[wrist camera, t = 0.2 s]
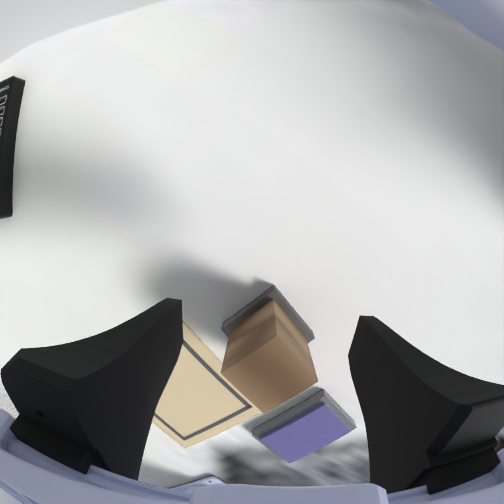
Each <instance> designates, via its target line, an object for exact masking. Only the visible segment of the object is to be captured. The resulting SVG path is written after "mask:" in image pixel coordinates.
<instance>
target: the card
mask: <svg viewBox="0 0 504 504" xmlns="http://www.w3.org/2000/svg"><path fill="white" fill-rule="evenodd" d="M222 364H223V363H222V362H221V361H220V360H219V359H218V358H217V357H216V356H215V355H214V354H213V353H212V352H211V351H210V350H209V349H208V348H207V346H206V345H205V344H204V343H203V342H202V341H201V340H200V339H199V338H198V337H197V336H196V335H195V334H194V333H193V332H192V330H191V329H190V328H189V327H188V326H187V325H186V324H185V323H184V322H183V344H182V348H181V351H180V355H179V358H178V361H177V363H176V365H175V367H174V370H173V372H172V374H171V376H170V378H169V380H168V382H167V385H166V387H165V389H164V391H163V393H162V395H161V398H160V400H159V402H158V405H157V407H156V410H155V413H154V416H153V420H152V422H153V423H154V424H155V425H156V426H157V427H159V428H160V429H161V430H162V431H163V432H165V433H166V434H167V435H168V436H169V437H171V438H172V439H173V440H175V441H176V442H177V443H178V444H180V445H181V446H182V447H184V448H187V447H189V446H192V445H194V444H196V443H199V442H201V441H203V440H205V439H208V438H210V437H212V436H214V435H216V434H219V433H221V432H223V431H225V430H227V429H229V428H231V427H233V426H235V425H237V424H239V423H241V422H243V421H245V420H247V419H249V418H251V417H253V416H255V415H257V414H258V413H260V412H261V411H260V410H259V409H258V408H257V407H256V406H255V405H254V404H253V403H251V402H250V401H249V400H248V399H247V398H246V397H245V396H244V395H243V394H242V393H241V392H240V391H238V390H237V389H236V388H235V387H234V386H233V385H232V384H231V383H230V382H229V381H228V380H227V379H226V378H225V377H224V376H223V375H222V374H221V369H222Z"/></svg>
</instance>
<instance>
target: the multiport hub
mask: <svg viewBox="0 0 504 504" xmlns="http://www.w3.org/2000/svg"><path fill="white" fill-rule="evenodd" d="M24 86H25V80H23V79H20V78H17V77H15V76H12V77H10V78H8V79H6V80H4V81H2V82H0V219H1V218H7V217H11V216H12V213H13V209H12V189H13V164H14V151H15V141H16V132H17V125H18V118H19V112H20V106H21V100H22V95H23V90H24Z"/></svg>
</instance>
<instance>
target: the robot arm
mask: <svg viewBox="0 0 504 504" xmlns="http://www.w3.org/2000/svg"><path fill="white" fill-rule="evenodd" d="M182 344H183V322H182V300H178V299H171V298H166V299H164V300H162V301H161V302H159V303H157V304H156V305H154V306H152V307H151V308H149V309H147V310H146V311H144V312H142V313H141V314H139V315H137V316H135V317H134V318H132V319H130V320H128V321H126V322H124V323H122V324H120V325H118V326H116V327H114V328H112V329H110V330H107V331H105V332H102V333H100V334H97V335H95V336H92V337H88V338H85V339H81V340H78V341H75V342H71V343H66V344H61V345H55V346H49V347H39V348H23V349H20V350H19V351H18V352H17V353H16V354H15V355H14V356H13V357H12V358H11V359H10V360H9V361H8V362H7V363H6V365H5V366H4V367H3V368H2V369H1V379H2V383H3V385H4V387H5V390H6V391H7V393H8V395H9V397H10V399H11V400H12V402H13V404H14V406H15V407H16V409H17V411H18V412H19V416H18V417H17V418H16V420H15V419H14V418H13V417H12V416H11V415H10V414H9V413H8V412H6V411H5V410H3V409H1V408H0V487H1V488H2V489H3V490H4V491H6V492H7V493H9V494H10V495H11V496H13V497H14V498H15V499H17V500H18V501H20V502H21V503H23V504H504V448H503V449H502V450H500V451H499V452H498V453H496V451H495V449H494V447H496V446H497V444H498V442H497V440H496V438H495V436H496V435H497V434H498V432H499V431H500V430H501V429H502V428H503V426H504V385H501V384H496V383H491V382H487V381H483V380H480V379H477V378H474V377H471V376H468V375H466V374H463V373H460V372H458V371H456V370H454V369H451V368H449V367H447V366H445V365H443V364H441V363H440V362H438V361H436V360H434V359H433V358H431V357H429V356H428V355H426V354H424V353H423V352H421V351H420V350H419V349H417V348H416V347H414V346H413V345H411V344H410V343H409V342H407V341H406V340H405V339H403V338H402V337H401V336H399V335H398V334H397V333H396V332H394V331H393V330H392V329H390V328H389V327H388V326H387V325H385V324H384V323H383V322H381V321H380V320H379V319H377V318H375V317H374V316H360V317H359V320H358V324H357V327H356V331H355V334H354V337H353V341H352V344H351V347H350V351H349V354H348V358H349V365H350V371H351V376H352V380H353V383H354V387H355V390H356V393H357V396H358V400H359V403H360V406H361V410H362V413H363V417H364V421H365V426H366V433H367V440H368V450H369V461H370V483H367V484H344V485H331V486H310V487H280V486H258V485H245V484H226V483H224V482H223V481H221V480H220V479H218V478H216V477H214V476H211V477H208V478H204V479H201V480H198V481H195V482H192V483H188V484H185V485H181V486H178V487H174V488H170V489H166V488H162V487H158V486H154V485H150V484H147V483H143V482H140V481H138V476H139V471H140V466H141V461H142V457H143V453H144V449H145V444H146V441H147V437H148V433H149V430H150V426H151V423H152V420H153V416H154V413H155V410H156V407H157V405H158V402H159V400H160V398H161V395H162V393H163V391H164V389H165V387H166V385H167V382H168V380H169V378H170V376H171V374H172V372H173V370H174V367H175V365H176V363H177V361H178V358H179V355H180V351H181V348H182Z"/></svg>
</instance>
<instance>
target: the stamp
mask: <svg viewBox="0 0 504 504" xmlns="http://www.w3.org/2000/svg"><path fill="white" fill-rule="evenodd" d="M221 329H222V331H223V332H224V333H225V334H226V335H227V336H228V337H229V339H228V343H227V347H226V352H225V356H224V360H223V364H222V369H221V374H222V375H223V376H224V377H225V378H226V379H227V380H228V381H229V382H230V383H231V384H232V385H233V386H234V387H235V388H236V389H237V390H238V391H240V392H241V393H242V394H243V395H244V396H245V397H246V398H247V399H248V400H249V401H250V402H251V403H253V404H254V405H255V406H256V407H257V408H258V409H259V410H260V411H261V412H263V413H266V412H267V411H269V410H271V409H273V408H275V407H276V406H278V405H280V404H282V403H283V402H285V401H287V400H289V399H290V398H292V397H294V396H295V395H297V394H299V393H300V392H302V391H304V390H305V389H307V388H309V387H310V386H312V385H313V384H315V383H316V382H318V379H317V375H316V372H315V368H314V365H313V361H312V357H311V354H310V350H309V347H308V343H309V342H310V341H312V340H313V339H314V338H315V337H314V334H313V331H312V330H311V329H310V328H309V327H308V325H307V324H306V323H305V322H304V321H303V319H302V318H301V317H300V316H299V314H298V313H297V312H296V311H295V310H294V308H293V307H292V306H291V305H290V304H289V302H288V301H287V300H286V299H285V297H284V296H283V295H282V294H281V293H280V291H279V290H278V289H277V288H276V287H275V285H273V286H272V287H271V288H269V289H268V290H267V291H265V292H264V293H263V294H261V295H260V296H259V297H257V298H256V299H255V300H253V301H252V302H251V303H249V304H248V305H247V306H245V307H244V308H242V309H241V310H240V311H238V312H237V313H236V314H234V315H233V316H232V317H230V318H229V319H227V320H226V321H225V322H223V324H222V328H221Z"/></svg>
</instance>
